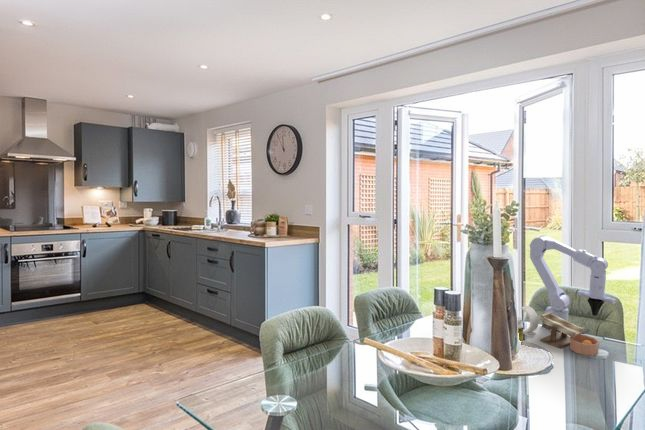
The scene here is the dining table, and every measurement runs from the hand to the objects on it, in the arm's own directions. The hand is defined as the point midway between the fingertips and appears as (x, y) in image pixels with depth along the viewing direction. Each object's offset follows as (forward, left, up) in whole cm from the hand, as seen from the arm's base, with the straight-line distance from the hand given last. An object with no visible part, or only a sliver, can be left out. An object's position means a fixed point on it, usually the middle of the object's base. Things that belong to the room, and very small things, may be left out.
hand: (594, 315), depth 196 cm
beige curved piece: (-6, -16, -6) cm, 18 cm away
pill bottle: (-16, -35, -10) cm, 40 cm away
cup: (+5, -18, -10) cm, 21 cm away
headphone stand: (-18, -21, -10) cm, 29 cm away
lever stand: (-6, -18, -10) cm, 21 cm away
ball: (+6, -18, -7) cm, 20 cm away
